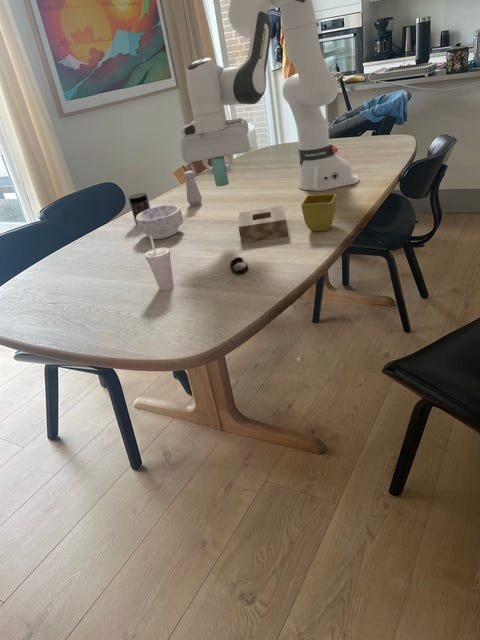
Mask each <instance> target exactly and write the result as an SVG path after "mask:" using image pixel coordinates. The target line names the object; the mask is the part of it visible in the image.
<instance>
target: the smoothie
mask: <svg viewBox="0 0 480 640" xmlns="http://www.w3.org/2000/svg"><path fill="white" fill-rule="evenodd" d="M149 240H150V242H151V243H150V244H151V248H152V249H150V250H148V251H146V253H144V256H145V261H147V262H148V265H149V267H150V270H151V272H152V274H153V276H154V278H155V281H156V284H157V286H158V289H159V290H160V291H169V290H171V289H174V287H175V284H174V277H173V270H172V262H171V261H172V260H171V254H172V253H171V249H170V248H168V247H155V243H154V239H152V236H150V238H149Z"/></svg>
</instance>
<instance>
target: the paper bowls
mask: <svg viewBox="0 0 480 640" xmlns="http://www.w3.org/2000/svg"><path fill="white" fill-rule="evenodd" d="M136 222H137V225H136V226H137V228H138V231H139V233H140V234H143V235H146V236H147V237H148V238H149V239H150V236H152V239H153V240H162V239H167V238H169V237H172V236H174V235H175V234H177V233H178V232H179V228H180V226H181V225H182V224H183V223H184V217H183V212H182V208H181V207H180V206H179V205H176V204H165V205H159V206H155V207H150V209H147V210H145V211H143V212H141V213H139V214H138V215H137V216H136Z"/></svg>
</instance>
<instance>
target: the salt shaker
mask: <svg viewBox="0 0 480 640" xmlns="http://www.w3.org/2000/svg"><path fill="white" fill-rule="evenodd" d="M183 178H184V179H185V181H186V182H185V183H186V186H185V187H186V200H187V203H188V205H189V206H190V207H198V206H201V204H202V200H203V197H202V194H201V192H200V190H199V187H198V185H197V182H196V179H195V178H196V174H195V171H193V170H188V171H187V170H186V171H185V172H184V173H183Z"/></svg>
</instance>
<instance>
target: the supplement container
mask: <svg viewBox="0 0 480 640" xmlns="http://www.w3.org/2000/svg"><path fill="white" fill-rule="evenodd" d="M127 198H128V202H129V204H130V210H131V212H132V215H133V219H134V223H135V225H136V226H138V225H137V222H136V216H137V215H138V214H139V213H141V212H143V211H145V210H147V209H150V208H151V206H150V202H149V200H148V194H147V193H146V192H138V193H133V194H132V195H129V196H128V197H127Z"/></svg>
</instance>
